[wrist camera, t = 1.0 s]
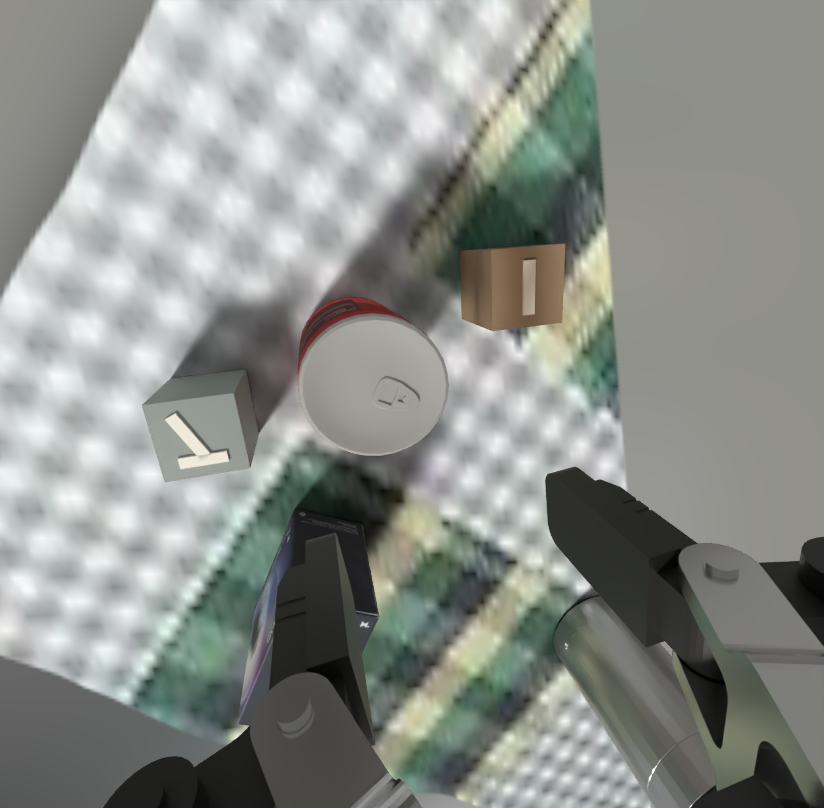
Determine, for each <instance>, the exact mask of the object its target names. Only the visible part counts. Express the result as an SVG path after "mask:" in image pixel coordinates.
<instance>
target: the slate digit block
mask: <svg viewBox="0 0 824 808" xmlns="http://www.w3.org/2000/svg"><path fill="white" fill-rule="evenodd" d="M142 407H143V411H144V414H145V417H146V421H147V424H148V428H149V431H150V434H151V438H152V441H153V444H154V448H155V451H156V454H157V458H158V461H159V464H160V468H161V471H162V474H163V478H164V481H165V482H169V481H175V480H181V479H187V478H193V477H199V476H206V475H212V474H218V473H224V472H230V471H236V470H242V469H248V468H250V467H251V463H252V459H253V455H254V451H255V447H256V443H257V439H258V435H259V430H258V425H257V421H256V416H255V411H254V406H253V401H252V396H251V392H250V387H249V382H248V377H247V372H246V369H242V370H234V371H226V372H218V373H210V374H202V375H194V376H185V377H177V378H171V379H170V380H169V381H167V382H166V383H165V384H164V385H163V386H162V387H161V388H160V389H159V390H158V391H157V392H156V393H154V394H153V395H152V396H151V397H150V398H149V399H148V400H147V401H146V402H145V403H144V404H143V405H142Z"/></svg>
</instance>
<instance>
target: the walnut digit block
mask: <svg viewBox="0 0 824 808" xmlns="http://www.w3.org/2000/svg"><path fill="white" fill-rule="evenodd" d="M459 252H460V280H461V309H462V319H463V320H466V321H469V322H471V323H474V324H476V325H479V326H481V327H484V328H486V329H489V330H491V331H496V330H505V329H513V328H521V327H530V326H538V325H546V324H555V323H562V311H563V287H564V262H565V244H547V245H526V246H512V247H499V248H487V249H475V250H462V251H459Z"/></svg>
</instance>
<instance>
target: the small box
mask: <svg viewBox="0 0 824 808" xmlns="http://www.w3.org/2000/svg"><path fill="white" fill-rule="evenodd" d="M333 533H336V535H337V538H338V541H339V545H340V548H341V552H342V556H343V559H344V563H345V567H346V571H347V574H348V578H349V582H350V586H351V590H352V594H353V599H354V605H355V611H356V618H357V624H358V631H359V638H360V645H361V652H363V650H364V648H365V646H366V644H367V642H368V640H369V638H370V636H371V633H372V631H373V629H374V627H375V625H376V623H377V621H378V619H379V613H378V608H377V602H376V597H375V592H374V586H373V581H372V575H371V570H370V567H369V561H368V555H367V550H366V544H365V537H364V530H363V526H362V524H359V523H356V522H349V521H347V520H346V521H345V520H341V519H337V518H333V517H329V516H325V515H321V514H318V513H316V512H310V511H305V510H300V509H295V510H294V512H293V514H292V516H291V519H290V521H289V524H288V526H287V529H286V531H285V534H284V537H283V539H282V541H281V544H280V546H279V549H278V551H277V554H276V556H275V559H274V561H273V564H272V566H271V569H270V571H269V574H268V576H267V579H266V581H265V584H264V586H263V589H262V591H261V594H260V596H259V599H258V602H257V604H256V606H255V611H254V617H253V624H252V631H251V638H250V644H249V651H248V657H247V664H246V670H245V677H244V684H243V691H242V697H241V704H240V710H239V718H238V724H241V725H249V726H250V725H251V721H252V718H253V714H254V712H255V710H256V708H257V706H258V704H259V703H260V701H261V700H262V698H263V697H264V696H265V695H266V693H267V692H268V691H269V685H270V673H271V660H272V647H273V635H274V625H275V609H276V597H277V586H278V585H279V583H280V581H281V579H282V578H283V576H284V574H285V572H286V570H287V569H288V568H291V567H295V566H298V565H302V564H305V563H306V552H305V544H306V541H307V540H311V539H315V538H318V537H322V536H325V535H329V534H333Z"/></svg>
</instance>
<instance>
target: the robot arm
mask: <svg viewBox="0 0 824 808" xmlns="http://www.w3.org/2000/svg"><path fill="white" fill-rule="evenodd" d="M545 484H546V500H547V516H548V526H549V530H550V533H551V536H552V538H553V540H554V542H555V544H556V545H557V547H558V548H559V549H560V550H561V551H562V552H563V554H564V555H565V556H566V557H567V558H568V559H569V560H570V562H571V563H572V564H573V565H574V566H575V567H576V568H577V570H578V571H579V572H580V573H581V574H582V575H583V577H584V578H585V579H586V580H587V581H588V582H589V583H590V585H591V586H592V587H593V588H594V589H595V590H596V591H597V593H598V594H599V595H600V596H598V597H593V598H590V599H588V600H585V601H583V602H581V603H580V604H578V605H576V606H575V607H574V608H573V609H571V610H570V611H569V612H568V613H567V614H566V615H565V616H564V617H563V619H562V620H561V622H560V623H559V625H558V627H557V629H556V631H555V635H554V648H555V651H556V653H557V654H558V656H559V658H560V659H561V661H562V662H563V664H564V666H565V667H566V669H567V670H568V672H569V673H570V675H571V677H572V678H573V680H574V681H575V683H576V685H577V686H578V688H579V690H580V691H581V693H582V694H583V696H584V697H585V699H586V701H587V702H588V704H589V705H590V707H591V708H592V710H593V712H594V713H595V715H596V716H597V718H598V719H599V721H600V723H601V724H602V726H603V727H604V729H605V730H606V732H607V734H608V735H609V737H610V738H611V740H612V741H613V743H614V745H615V746H616V748H617V749H618V751H619V752H620V754H621V756H622V757H623V759H624V760H625V762H626V763H627V765H628V767H629V768H630V770H631V771H632V773H633V774H634V776H635V778H636V779H637V781H638V782H639V784H640V785H641V787H642V789H643V790H644V792H645V793H646V795H647V796H648V798H649V800H650V801H651V802H652V804H653V806H654V807H655V808H824V537H819V538H814V539H811V540H808V541H807V542H806V543H804V545H803V547H802V550H801V556H800V561H790V562H767V563H758V562H757V561H755V560H754V559H753V558H752V557H750V556H748V555H747V554H745V553H743V552H741V551H739V550H736V549H734V548H731V547H728V546H724V545H720V544H712V543H701V544H698V543H696V542H695V541H693V540H692V539H691V538H689V537H688V536H687V535H685V534H684V533H683V532H681V531H680V530H678V529H677V528H675V527H674V526H673V525H672V524H670V523H669V522H667V521H666V520H665V519H663V518H662V517H661V516H659V515H658V514H657V513H655V512H654V511H652V510H649V508H648V507H647V506H646V505H644V504H643V503H641V502H640V501H636V498H635V497H633V496H632V495H630V494H629V493H628V492H626V491H625V490H624V489H622V488H621V487H619V486H616V485H613V484H611V483H608V482H605V481H603V480H597V481H595V480H593V479H592V478H591V477H589V476H588V475H587V474H585V473H584V472H583V471H582V470H580V469H579V468H577V467H571V468H568V469H564V470H560V471H557V472H553V473H550V474H548V475H547V476H546V480H545ZM305 552H306V563H305V564H302V565H298V566H295V567H291V568H288V569H287V570H286V572H285V574H284V576H283V578H282V579H281V581H280V583H279V585H278V586H277V597H276V609H275V625H274V635H273V647H272V660H271V673H270V685H269V691H268V692H267V693H266V695H265V696H264V697H263V698H262V700H261V701H260V703H259V704H258V706H257V708H256V710H255V712H254V714H253V718H252V721H251V725H250V726H249V727H248V728H247V729H246V730H245V731H244V732H243V733H242V734H241V735H240V736H239V737H238V738H236V739H235V740H234V741H232V742H231V743H230V744H228V745H227V746H225V747H224V748H222V749H221V750H219V751H218V752H216V753H215V754H213V755H212V756H210V757H209V758H207V759H206V760H204V761H203V762H201V763H200V764H198V765H197V766H195V767H193V765H192V764H191V762H189V761H188V760H187V759H184V758H182V757H177V756H174V757H166V758H162V759H159V760H156V761H154V762H152V763H150V764H148V765H146V766H145V767H143V768H141V769H140V770H138V771H137V772H136V773H134V774H133V775H132V776H131V777H130V778H128V779H127V780H126V781H125V782H124V783H123V784H122V785H121V786H120V787H119V788H118V789H117V790H116V791H115V793H114V794H113V795H112V796H111V797H110V799H109V800H108V802H107V803H106V804H105V806H104V807H103V808H422V807H421V805H420V804H419V802H418V801H417V799H416V798H415V796H414V795H413V793H412V792H411V791H410V789H409V788H408V787H407V786H406V784H405V783H404V782H403V781H402V780H400V779H397V780H395V779H393V777H392V776H391V775H390V774H389V772H388V771H387V769H386V768H385V766H384V765H383V763H382V761H381V760H380V758H379V757H378V755H377V754H376V752H375V751H374V749H373V748H372V746H373V745H375V740H374V734H373V727H372V720H371V713H370V706H369V699H368V693H367V686H366V679H365V672H364V665H363V659H362V652H361V645H360V638H359V631H358V624H357V618H356V611H355V605H354V599H353V594H352V590H351V586H350V582H349V578H348V574H347V571H346V567H345V563H344V559H343V556H342V552H341V548H340V545H339V541H338V538H337V535H336V533H333V534H329V535H325V536H322V537H318V538H315V539H311V540H307V541H306V544H305ZM663 641H665V642H666V643H667V644H668V645H669V646H670V647H671V648H672V649H673V650H672V651H673V652H672V656H671V655H670V654H669V652H668V651H667V650H666V649H665V648H664V647H663V646H662V645H661V644H660V642H663Z"/></svg>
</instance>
